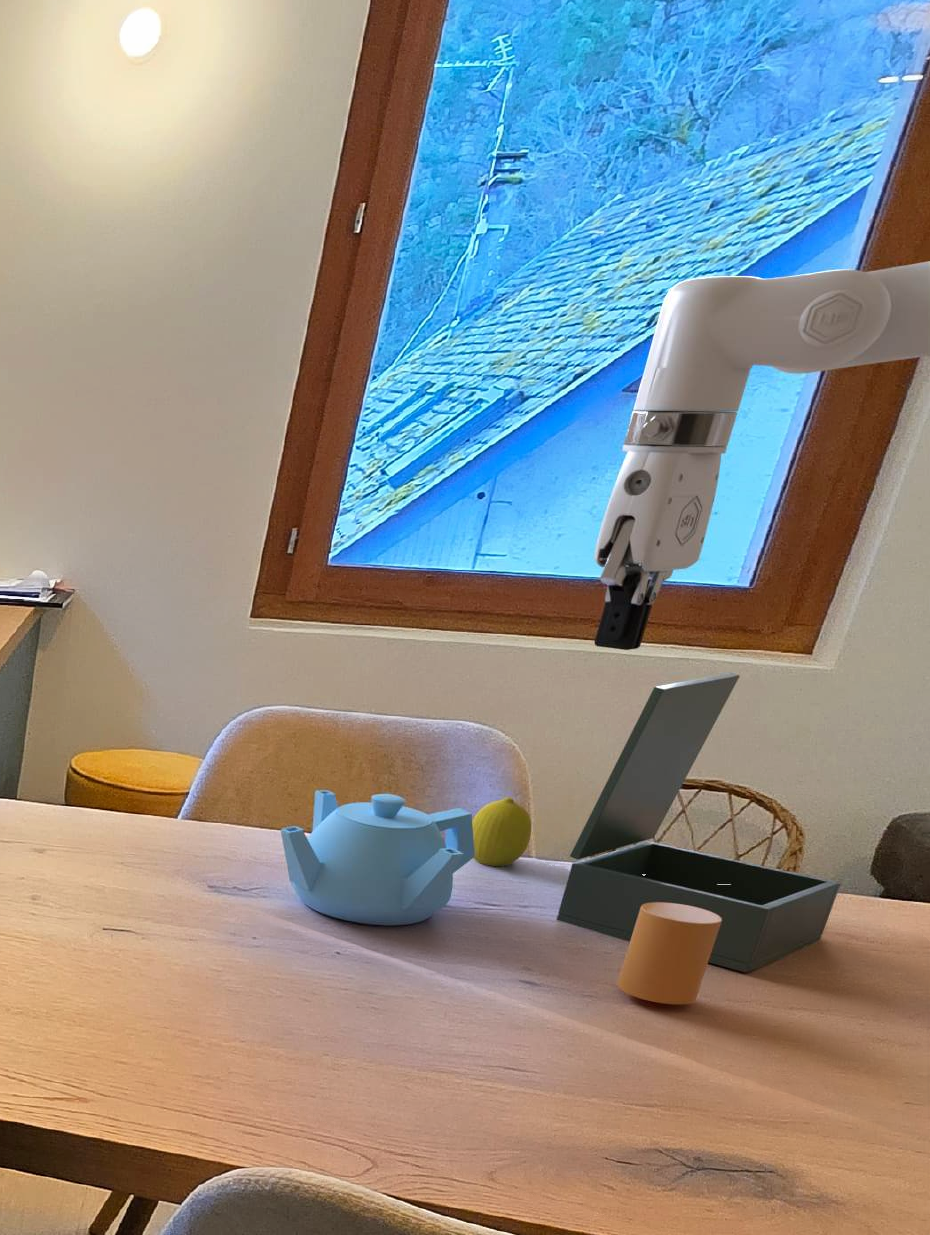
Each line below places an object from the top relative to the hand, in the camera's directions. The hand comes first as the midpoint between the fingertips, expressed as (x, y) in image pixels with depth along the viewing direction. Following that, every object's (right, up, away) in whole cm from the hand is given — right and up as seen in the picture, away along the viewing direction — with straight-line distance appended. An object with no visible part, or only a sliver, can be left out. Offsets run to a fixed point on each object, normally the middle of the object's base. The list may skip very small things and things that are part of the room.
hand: (616, 647), depth 131 cm
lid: (+3, -11, -1) cm, 12 cm away
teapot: (-20, -24, +6) cm, 32 cm away
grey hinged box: (+6, -27, 0) cm, 27 cm away
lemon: (-1, -19, +18) cm, 26 cm away
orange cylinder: (-7, -32, -14) cm, 36 cm away
